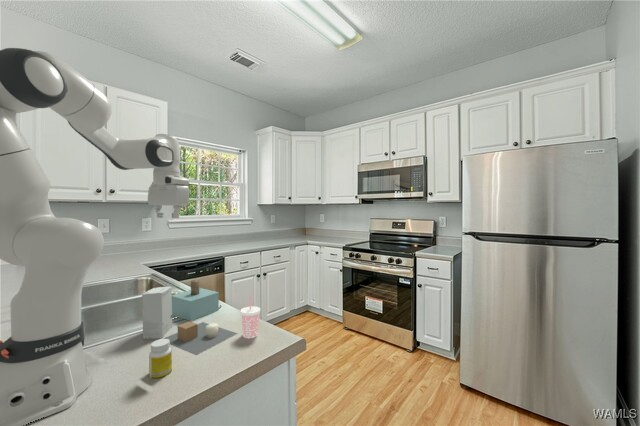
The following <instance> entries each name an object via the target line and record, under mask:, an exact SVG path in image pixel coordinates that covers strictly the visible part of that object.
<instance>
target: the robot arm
mask: <svg viewBox="0 0 640 426" xmlns="http://www.w3.org/2000/svg"><path fill="white" fill-rule="evenodd" d="M47 108H49V109H51V110H52V111H53V112H55V113H56V114H58V115H59V116H61V117H62V118H63V119H65V120H66V121H67V124H68V125H69V126H70V128H72V129H73V130H74V131H75V133H77V134H78V135H80V136H81V137H82V138H84V139H85V140H86V141H87V142H88V143H90V144H91V145H92V146H94V147H95V148H96V149H97V150H99V151H100V152H101V153H103V155H105V157H106V158H107V159H108V160H109V162H110V163H111V164H112V165H113V166H114V167H116V168H117V169H119V170H122V171H128V170H137V169H143V170H144V169H152V177H153V179H152V180H153V181H152V182H151V184H150V186H149V187H148V193H147V204H148V206H153V207H154V210H155V212H156V218H158V219H161V218H164V212H163V211H162V209H163V206H172V208H173V209H172V210H173V212H172V213H171V218H172V219H179V218H180V212H181V209H182V206H188V204H189V202H190V189H189V185H190V179H188V178H187V177H184V176H183V175H182V174H181V169H180V165H181V147H180V143H179V140H178V138H176V137H175V136H173V135H170V134H165V133H157V134H155V136H154V137H150V138H145V139H144V138H143V139H124V138H118V137H116V136H115V135H113V134H112V132H110V131H109V130H108V129H107V128H106V127H105V126H106V124H107V123H108V122H109V120H110V119H111V115H112V104H111V101H110V100H109V98H108V97H107V95H106V94H105V93H104V92H103V91H102V90H101V89H100V88H99V87H97V86H96V84H94V83H92V82H91V81H90V80H89V79H87V77H85V76H84V75H83V74H81V73H80V72H79V71H77V70H76V69H75V68H73V67H72V66H71V65H69V64H68V63H66V62H65V61H63V60H62V59H60V58H58V57H57V56H55V55H53V54H52V53H49V52H47V51H40V50H36V51H34V50H31V49H27V48H19V47H7V48H3V49H0V260H1V261H4V262H6V263H8V264H10V265H14V266H20V267H24V269H25V270H24V275H23V279H22V282H21V285H20V288H19V290H18V292H17V293H16V294H15V295H14V296H13V297H12V298H11V300H10V302H9V303H10V337H8V338H7V339H6V340H5V341H4V342H3V341H2V340H1V339H0V426H23V425H24V426H27V425H29V424H31V423H30V422H32V423H34V422H36V421H35V420H37V421H39V420H42V419H44V418H47V417H49V416H52V415H54V414H56V413H60V412H61V411H64V410H65V409H68V408H70V407H71V406H73V404H74V403H75V401H76V399H77V397H79V395H81V394H82V393H83V392H84V391H85V390H86V389H87V388H88V387H89V386H90V385H91V382H92V376H91V375H90V373H89V371H88V367H87V362H86V358H85V353H84V345H85V337H86V335H85V333H86V331H85V325H84V322H83V321H82V295H83V294H82V292H83V286H84V283H85V280H86V277H87V274H88V271H89V269H90V267H91V265H92V264H93V263H94V262H95V261H96V260H97V259H98V258H99V257H100V256H101V254H102V252H103V249H104V246H105V240H104V236H103V233H102V231H101V230H100V229H99V228H98V227H97V226H95V225H93V224H92V223H89V222H86V221H84V220H81V219H80V220H79V219H77V218H72V217H56V215H54V213H53V211H52V209H51V205H50V200H49V192H50V190H51V182H50V180H49V178H48V177H47V175H46V173H45V172H44V170H43V168H42V166H41V164H40V162H39V160H38V158H37V157H36V155H35V154H34V153H35V152H34V151H33V150H32V148H31V146H30V145H29V143H28V141H27V140H26V138H25V137H24V135H23V134H22V132H21V131H20V129H19V128H18V126H17V119H16V118H17V117H16V116H17V114H20V113H26V112H30V111H35V110H39V109H47ZM43 417H44V418H43ZM41 418H42V419H41ZM38 419H39V420H38ZM33 421H34V422H33ZM28 423H29V424H28ZM26 424H27V425H26Z"/></svg>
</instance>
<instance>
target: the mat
mask: <svg viewBox="0 0 640 426" xmlns="http://www.w3.org/2000/svg"><path fill="white" fill-rule="evenodd" d="M238 334H239V333H238V332H235V331H231V330H228V329H226V328H222V327H219V324H218V323H216V322H215V323H214V322H213V323H207V322H204V321H202V322H201V323H196V322H193V321H189V320H188V321H187V322H185V323H182V324H179V325H177V332H176V333H173V334H171V335H168V336H167V337H163V338H162V339H169V340H170V345H171V346H173V347H176V348H178V349H181V350H184V352H185V351H186V352H187V353H190V354H193V355H195V356H197V355H200V354H201V353H204V352H205V351H208V350H210V349H211V348H213V347H214V346H217V345H219V344H221V343H223V342H225V341H226V340H228V339H230V338H232V337H234V336H236V335H238Z"/></svg>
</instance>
